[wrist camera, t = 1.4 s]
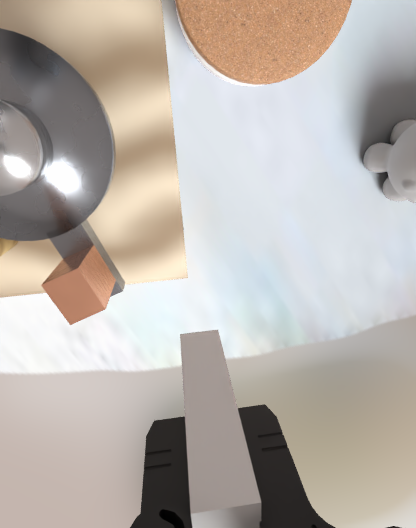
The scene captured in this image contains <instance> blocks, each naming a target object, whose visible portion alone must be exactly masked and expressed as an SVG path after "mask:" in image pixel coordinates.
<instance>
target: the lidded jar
mask: <svg viewBox="0 0 416 528" xmlns="http://www.w3.org/2000/svg"><path fill="white" fill-rule="evenodd" d="M351 2H352V0H175V5H176V11H177V16H178V20H179V23H180V26H181V29H182V32H183V35H184V37H185V39H186V42H187V44H188V46H189V48H190V49H191V51H192V52H193V54H194V55H195V57H196V58H197V59H198V61H199V62H200V63H201V64H202V65H203V66H204V67H205V68H206V69H207V70H208V71H210V72H211V73H212V74H213V75H215V76H217V77H218V78H220V79H222V80H224V81H226V82H229V83H232V84H236V85H242V86H261V85H266V84H271V83H276V82H281V81H283V80H286V79H288V78H291V77H293V76H295V75H297V74H299V73H300V72H302V71H304V70H306V69H307V68H308V67H310V66H311V65H312V64H313V63H314V62H316V61H317V60H318V59H319V58H320V57H321V56H322V55H323V54H324V53H325V51H326V50H327V49H328V48H329V47H330V45H331V44H332V42H333V41H334V39H335V38H336V36H337V35H338V33H339V31H340V29H341V27H342V25H343V23H344V21H345V19H346V16H347V13H348V11H349V8H350V5H351Z"/></svg>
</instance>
